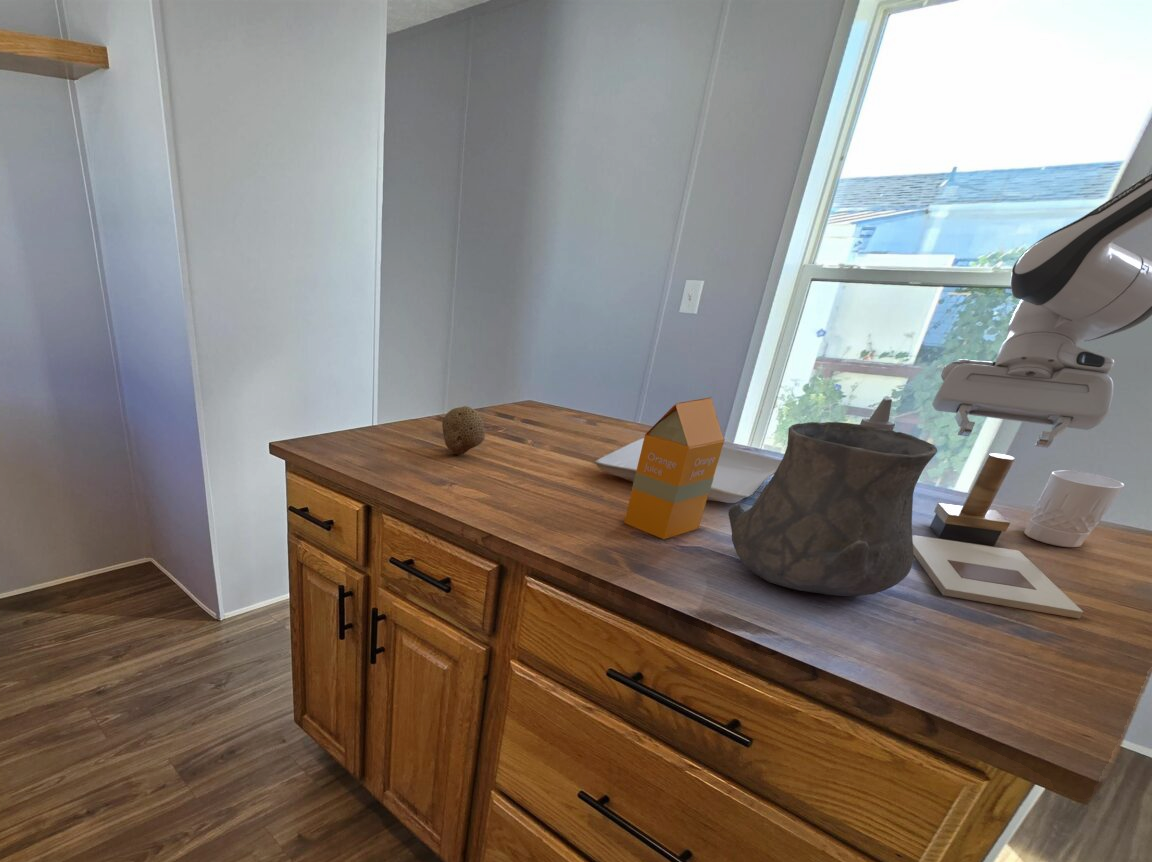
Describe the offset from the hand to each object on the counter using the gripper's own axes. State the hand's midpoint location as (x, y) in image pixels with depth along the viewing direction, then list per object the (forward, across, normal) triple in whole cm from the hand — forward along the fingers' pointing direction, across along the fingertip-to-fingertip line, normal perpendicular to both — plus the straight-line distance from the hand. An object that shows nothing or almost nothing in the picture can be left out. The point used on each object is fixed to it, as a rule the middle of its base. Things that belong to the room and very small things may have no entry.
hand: (1002, 439), depth 103 cm
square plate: (+15, -42, +5) cm, 44 cm away
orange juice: (+35, -38, -15) cm, 54 cm away
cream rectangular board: (+27, +2, -7) cm, 28 cm away
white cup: (+10, +11, +10) cm, 18 cm away
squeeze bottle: (+11, -16, +9) cm, 21 cm away
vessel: (+39, -18, -19) cm, 47 cm away
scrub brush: (+15, 0, +4) cm, 16 cm away
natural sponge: (+26, -83, -7) cm, 87 cm away
